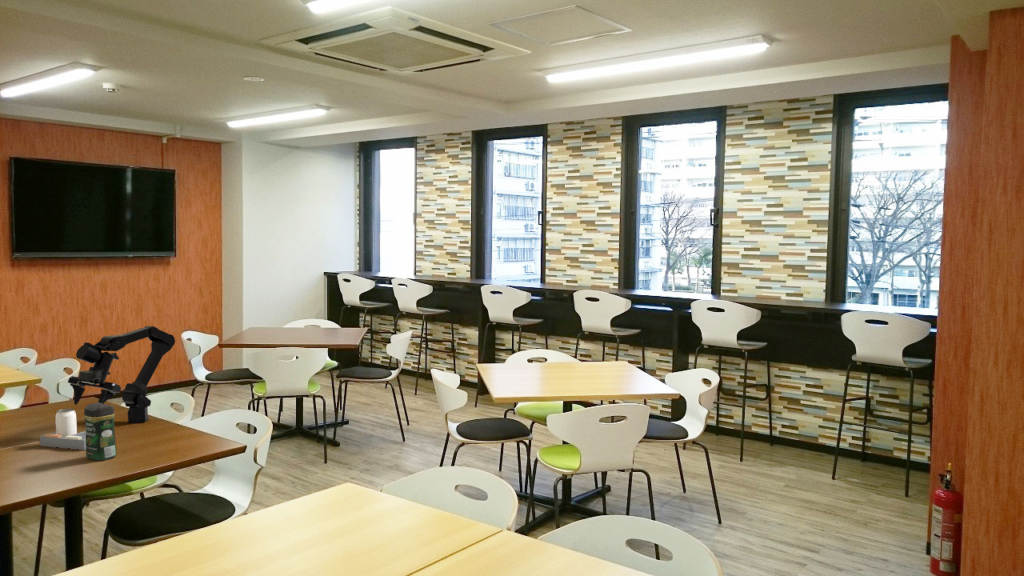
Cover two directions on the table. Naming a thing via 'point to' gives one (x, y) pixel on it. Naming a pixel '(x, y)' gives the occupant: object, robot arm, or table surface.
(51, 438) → the dock
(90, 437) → the coffee jar
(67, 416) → the can
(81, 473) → the table surface
